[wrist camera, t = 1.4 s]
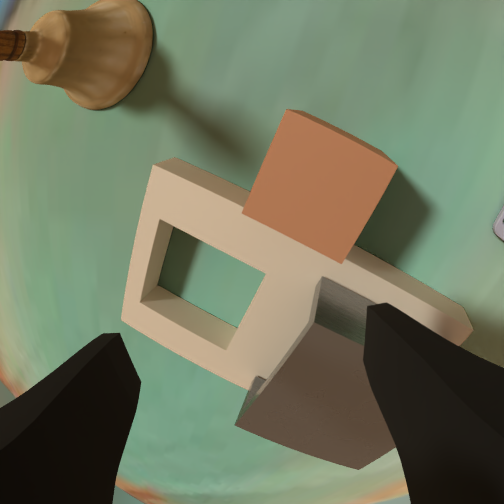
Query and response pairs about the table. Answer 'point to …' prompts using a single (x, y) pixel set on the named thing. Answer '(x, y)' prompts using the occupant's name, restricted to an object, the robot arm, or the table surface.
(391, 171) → the block
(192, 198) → the board
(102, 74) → the hand bell
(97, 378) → the robot arm
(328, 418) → the cover
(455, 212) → the table surface
